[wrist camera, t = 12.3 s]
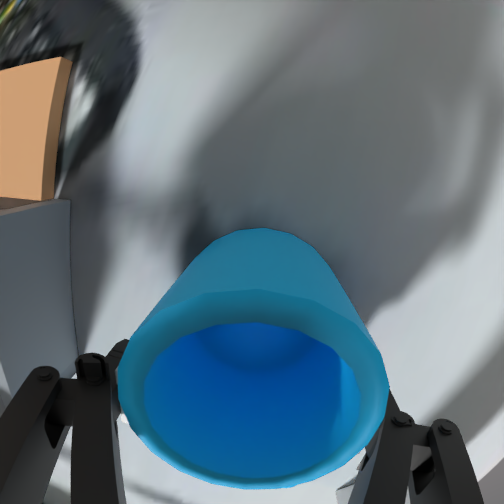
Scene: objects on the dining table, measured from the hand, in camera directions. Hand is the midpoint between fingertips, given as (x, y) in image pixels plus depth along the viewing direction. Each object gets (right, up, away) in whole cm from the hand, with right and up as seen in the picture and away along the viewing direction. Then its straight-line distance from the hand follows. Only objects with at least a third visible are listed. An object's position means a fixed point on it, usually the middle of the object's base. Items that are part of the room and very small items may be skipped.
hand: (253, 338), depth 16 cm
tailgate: (-18, +8, -2) cm, 20 cm away
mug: (+1, 0, 0) cm, 1 cm away
